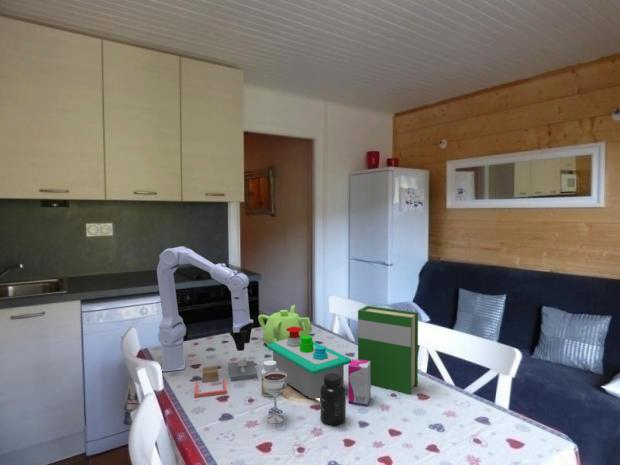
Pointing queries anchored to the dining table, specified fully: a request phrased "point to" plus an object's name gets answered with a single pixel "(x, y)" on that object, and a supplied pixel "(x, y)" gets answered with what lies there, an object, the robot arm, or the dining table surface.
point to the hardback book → (389, 347)
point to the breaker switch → (241, 362)
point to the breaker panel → (242, 371)
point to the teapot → (283, 325)
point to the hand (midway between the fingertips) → (243, 346)
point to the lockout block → (210, 374)
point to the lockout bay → (211, 391)
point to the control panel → (306, 362)
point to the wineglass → (274, 390)
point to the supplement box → (359, 382)
